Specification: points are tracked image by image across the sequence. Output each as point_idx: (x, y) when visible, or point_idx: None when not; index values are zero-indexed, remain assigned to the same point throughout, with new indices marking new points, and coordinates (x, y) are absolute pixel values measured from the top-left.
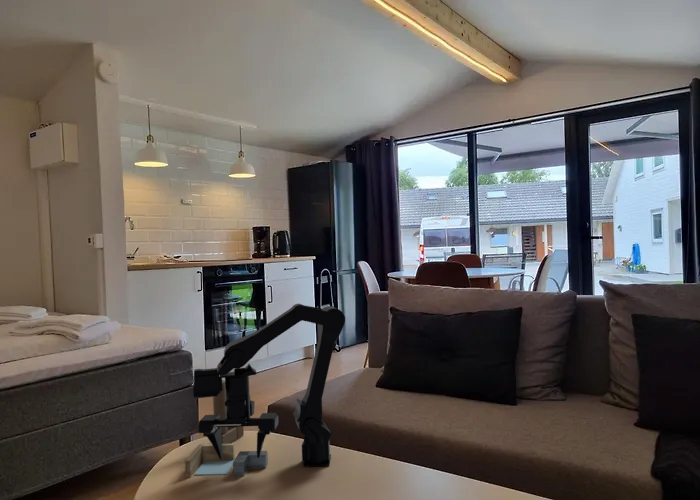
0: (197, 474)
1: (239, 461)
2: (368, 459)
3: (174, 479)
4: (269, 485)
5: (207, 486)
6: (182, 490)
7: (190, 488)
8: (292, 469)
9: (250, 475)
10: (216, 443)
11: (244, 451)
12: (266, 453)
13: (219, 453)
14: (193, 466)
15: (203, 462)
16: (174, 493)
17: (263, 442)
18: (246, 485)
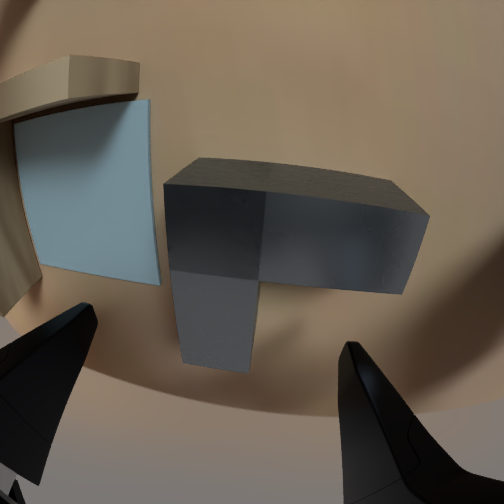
0: (49, 265)
1: (219, 360)
2: None
3: None
4: None
5: (134, 355)
6: None
7: (91, 349)
8: (481, 279)
9: (289, 313)
10: (53, 429)
11: (209, 191)
12: (414, 248)
13: (80, 361)
14: (14, 258)
15: (15, 141)
16: None
17: (412, 416)
18: (280, 379)
